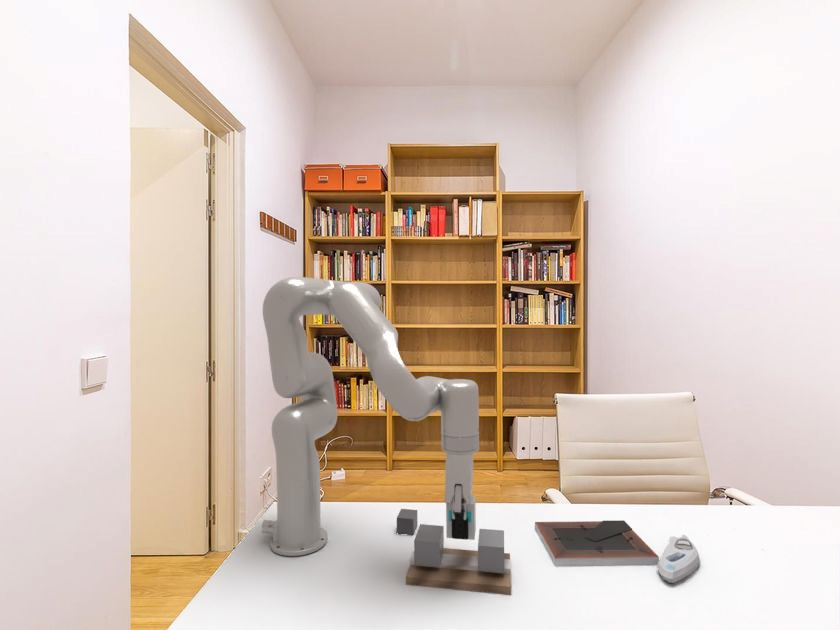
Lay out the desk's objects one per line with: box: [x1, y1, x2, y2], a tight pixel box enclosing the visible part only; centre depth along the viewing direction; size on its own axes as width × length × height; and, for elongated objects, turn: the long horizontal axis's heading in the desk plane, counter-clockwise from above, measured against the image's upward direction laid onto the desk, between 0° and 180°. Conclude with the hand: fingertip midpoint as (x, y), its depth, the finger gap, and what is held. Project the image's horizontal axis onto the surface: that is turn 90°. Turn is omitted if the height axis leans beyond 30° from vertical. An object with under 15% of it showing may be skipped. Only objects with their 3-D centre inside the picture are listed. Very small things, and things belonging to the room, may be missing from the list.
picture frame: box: [534, 519, 660, 568], centre depth 108 cm, size 16×2×22 cm
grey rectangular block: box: [396, 508, 418, 536], centre depth 115 cm, size 4×5×4 cm
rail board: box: [405, 547, 512, 596], centre depth 97 cm, size 20×12×2 cm, turn 80°
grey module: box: [445, 494, 477, 541], centre depth 97 cm, size 6×5×7 cm
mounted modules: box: [413, 523, 505, 573], centre depth 97 cm, size 18×7×5 cm, turn 80°
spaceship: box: [656, 534, 700, 584], centre depth 101 cm, size 23×7×4 cm, turn 144°
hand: (461, 530), depth 97 cm, fingers closed on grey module, 4 cm apart
